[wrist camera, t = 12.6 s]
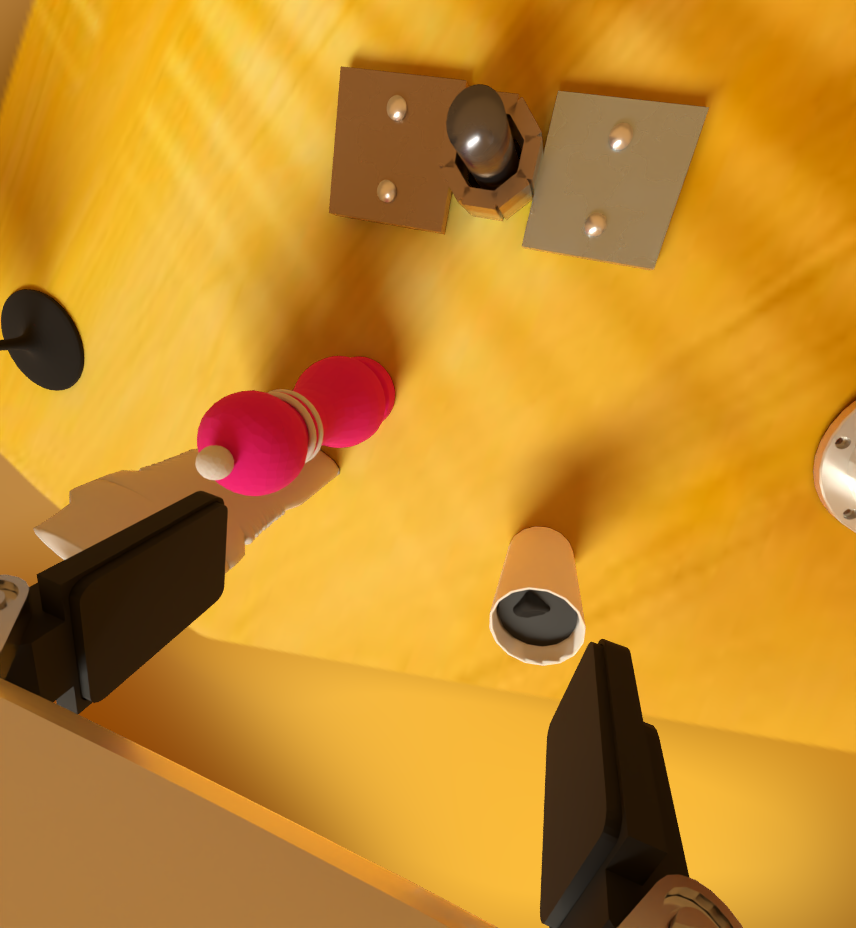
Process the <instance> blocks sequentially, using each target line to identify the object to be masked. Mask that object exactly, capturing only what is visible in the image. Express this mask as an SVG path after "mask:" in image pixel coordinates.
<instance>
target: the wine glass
mask: <svg viewBox="0 0 856 928" xmlns="http://www.w3.org/2000/svg"><path fill="white" fill-rule="evenodd" d="M1 328H2V333H3V337H4V340H0V350H8V351H9V353H10V355H11V357H12V359H13V360H14V362H15V363H16V365H17V366H18V368H19V369H20V370H21V371H22V372H23V373H24V374H25V375H26V376H27V377H28V378H29V379H30V380H31V381H33V382H34V383H36V384H37V385H39V386H41V387H43V388H46V389H49V390H56V391H57V390H65V389H68V388H70V387H71V386H73V385H74V384H75V383H76V382H77V381H78V379H79V378H80V376H81V373H82V370H83V364H84V353H83V347H82V342H81V339H80V336H79V333H78V331H77V329H76V327H75V325H74V323H73V321H72V320H71V318H70V316H69V315H68V314H67V312H66V311H65V310H64V309H63V308H62V307H61V306H60V305H59V304H58V303H57V302H56V301H55V300H54V299H53V298H51V297H49V296H48V295H46V294H44V293H42V292H40V291H36V290H27V289H24V290H19V291H17V292H15V293H13V294H12V295H11V296H9V298H8V299H7V300H6V302H5V304H4V306H3V310H2V315H1Z"/></svg>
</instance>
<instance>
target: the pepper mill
mask: <svg viewBox="0 0 856 928" xmlns="http://www.w3.org/2000/svg"><path fill="white" fill-rule="evenodd" d="M394 400H395V389H394V385H393V382H392V379H391V377H390V375H389V374H388V372H387V371H386V370H385V369H384V367H383V366H382V365H380V364H379V363H378V362H376V361H374V360H372V359H370V358H367V357H360V356H359V357H351V358H350V357H346V356H332V357H328V358H324V359H322V360H320V361H318V362H316V363H314V364H312V365H311V366H310V367H309V368H308V369H306V370H305V371H304V372H303V374H302V375H301V376H300V377H299V379H298V381H297V383H296V385H295V388H294V389H293V390H292V391H291V390H287V389H277V390H272V391H270V392H266V393H265V392H260V391H255V390H252V391H241V392H237V393H234V394H230V395H228V396H226V397H224V398H222V399H221V400H219V401H218V402H216V403H214V405H213V406H212V407H211V408H210V409H209V410H208V411H207V412H206V413H205V415H204V417H203V418H202V420H201V423H200V426H199V428H198V435H197V447H198V452H199V453H198V455H197V457H196V463H195V465H196V468H197V471H198V472H199V473H200V474H201V475H202V476H203V477H204V478H206V479H209V480H215V481H216V482H217V483H218V484H220V485H221V486H223V487H224V488H226V489H228V490H230V491H232V492H234V493H238V494H242V495H246V496H262V495H267V494H271V493H274V492H277V491H279V490H281V489H283V488H284V487H286V486H287V485H289V484H290V483H291V482H292V481H293V480H294V479H295V478H296V477H297V476H298V475H299V473H300V472H301V470H302V468H303V467H304V465H305V463H307V462H308V461H310V460H311V459H313V458H314V457H315V456H316V455H317V453H318V452H319V450H320V448H321V446H322V445H325V446H329V447H336V448H343V447H351V446H354V445H357V444H359V443H361V442H363V441H365V440H367V439H368V438H370V437H371V436H372V435H373V434H374V433H375V432H376V431H377V430H378V428H379V426H380V425H381V423H382V421H383V420H384V419H386V418H387V416H388V415H389V414H390V412H391V410H392V408H393V405H394Z"/></svg>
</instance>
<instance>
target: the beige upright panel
mask: <svg viewBox="0 0 856 928" xmlns="http://www.w3.org/2000/svg"><path fill="white" fill-rule="evenodd" d="M198 453H199V452H198V449H191V450H189V451H187V452H185V453H181V454H180V455H177V456H174V457H172V458H169V459H167V460H164V461H163V462H159V463H157V464H152V465H151V466H146V467H142V468H140V470H139V471H119V472H116V473H112V474H109V475H106V476H104V477H101V478H99V479H96V480H94V481H91V482H89V483H86V484H84V485H81V486H79V487H76V488H74V489H72V490H71V491H70V504H69V505H67V506H66V507H65V508H63V509H62V510H60V511H59V512H58V513H56V514H55V515H54V516H53V517H51V518H49V519H48V520H46V521H44V522H43V523H41V524H40V525H38V526H36V527H35V528H34V531H35V533H36V535H37V536H38V537H39V538H40V539H41V540H42V541H43V542H44V543H45V544H46V545H47V546H48V547H49V548H50V549H51V550H53V551H54V552H55V553H56V554H57V555H59V556H60V557H61V558H63V559H64V560H66V559H68V558H70V557H71V556H73V555H75V554H77V553H79V552H81V551H83V550H85V549H87V548H89V547H91V546H93V545H95V544H96V543H98V542H100V541H102V540H104V539H106V538H108V537H110V536H112V535H114V534H116V533H118V532H120V531H122V530H123V529H125V528H127V527H129V526H131V525H133V524H135V523H137V522H139V521H141V520H143V519H145V518H147V517H148V516H150V515H152V514H154V513H156V512H158V511H160V510H162V509H164V508H166V507H168V506H170V505H172V504H174V503H175V502H177V501H179V500H181V499H183V498H185V497H187V496H189V495H191V494H193V493H195V492H197V491H205V492H207V493H210V494H213V495H215V496H218V497H221V498H222V499H223V501H224V505H225V506H227V508H228V519H227V539H226V560H225V573H226V572H228V571H229V569H231V568H232V567H233V566H235V565H236V564H237V563H238V562H239V561H240V560H241V559H242V557H243V556H244V555H245V544H250V543H252V541H253V540H254V539H255V537H258V535H259V534H260V533H261V532H262V530H265V529H266V528H267V527H269V526H270V525H271V524H272V522H274V521H275V520H277V519H278V518H279V517H281V515H283V514H284V513H285V510H288V509H291V508H294V507H297V506H299V505H301V504H302V503H304V502H305V501H306V500H307V499H309V498H310V497H311V496H312V495H314V494H315V493H316V492H317V491H319V490H320V489H321V488H322V487H324V486H325V485H326V484H327V483H328V482H329V481H331V480H332V479H333V478H335V477H336V476H337V475H338V474H339V467H338V466H337V464H336V462H335V461H334V460H333V459H331V458H330V457H329V456H328V455H327V454H325V453H324V452H323V451H322V450H319V452H318V453H317V455H316V456H315V457H314V458H313V459H311V460H310V461H308V462H307V463H305V465H304V467H303V468H302V470H301V472H300V473H299V475H298V476H297V477H296V478H295V479H294V480H293V481H292V482H291V483H290V484H289V485H287V486H286V487H284V488H283V489H281V490H279V491H277V492H274V493H271V494H267V495H262V496H246V495H242V494H238V493H234V492H232V491H230V490H228V489H226V488H224V487H223V486H221V485H220V484H218V483H217V482H216V481H215V480H209V479H206V478H204V477H203V476H202V475H201V474H200V473H199V472H198V471H197V468H196V465H195V463H196V457H197V455H198Z"/></svg>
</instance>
